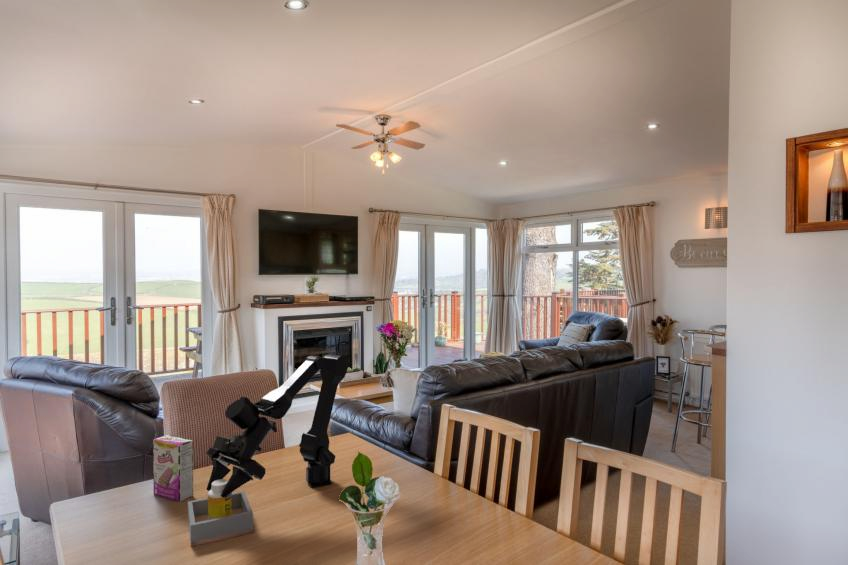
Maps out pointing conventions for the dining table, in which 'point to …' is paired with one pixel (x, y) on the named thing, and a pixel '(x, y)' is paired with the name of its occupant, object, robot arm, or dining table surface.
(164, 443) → the candy bar box
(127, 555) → the dining table surface
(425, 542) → the dining table surface
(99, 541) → the dining table surface
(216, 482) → the supplement bottle
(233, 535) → the walled box
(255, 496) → the dining table surface
